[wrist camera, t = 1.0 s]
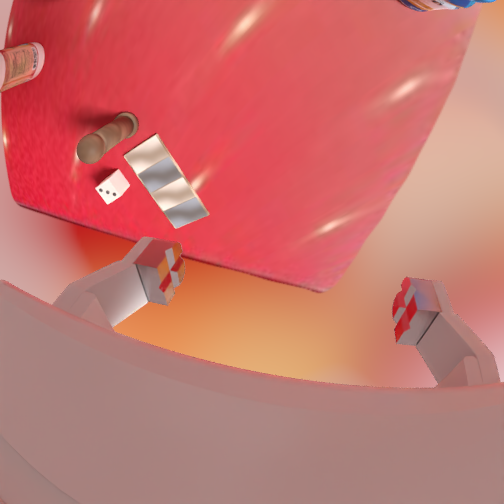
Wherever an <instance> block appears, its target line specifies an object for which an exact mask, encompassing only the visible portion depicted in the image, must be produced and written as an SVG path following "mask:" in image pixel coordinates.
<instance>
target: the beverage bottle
mask: <svg viewBox="0 0 504 504" xmlns="http://www.w3.org/2000/svg"><path fill="white" fill-rule="evenodd" d="M400 1H401V2H402V3H403V4H404V5H405V6H407V7H409V8H410V9H413V10H415V11H421V12H423V11H429V10H438V9H459V8H467V7H470V6H472V5H473V4H474V3H475V2H482V3H486V2H494V1H495V0H400Z"/></svg>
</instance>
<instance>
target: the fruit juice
mask: <svg viewBox="0 0 504 504" xmlns="http://www.w3.org/2000/svg"><path fill="white" fill-rule="evenodd" d="M44 60H45V52H44V49H43V47H42V45H41V44H39V43H37V42H31V43H26V44H22V45H18V46H14V47H10V48H6V49H3V50H0V92H2V91H5V90H7V89H9V88H12V87H14V86H17V85H19V84H22V83H24V82H27V81H30V80H32V79H34V78H35V77H36V76H37V75H38V74H39V73H40V71H41V70H42V67H43V65H44Z"/></svg>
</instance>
